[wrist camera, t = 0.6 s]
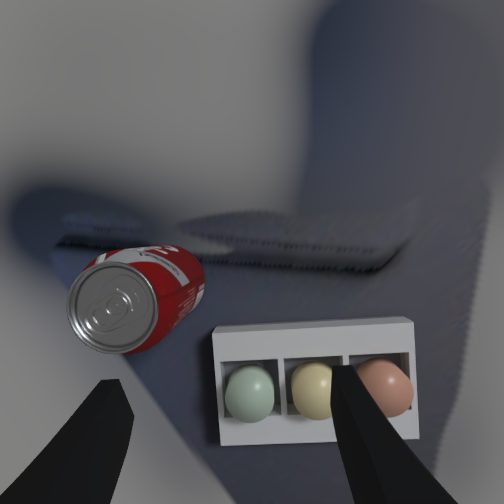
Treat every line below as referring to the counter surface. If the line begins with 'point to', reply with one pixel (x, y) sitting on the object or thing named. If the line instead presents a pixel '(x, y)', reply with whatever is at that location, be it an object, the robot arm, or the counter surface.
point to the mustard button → (312, 390)
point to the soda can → (134, 297)
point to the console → (302, 350)
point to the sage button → (250, 393)
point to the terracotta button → (387, 385)
